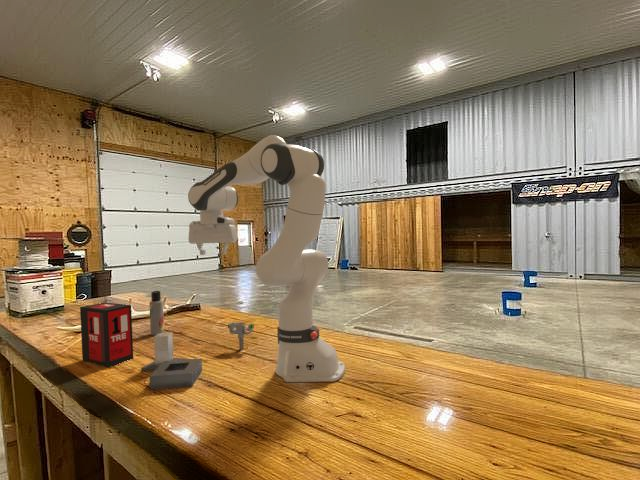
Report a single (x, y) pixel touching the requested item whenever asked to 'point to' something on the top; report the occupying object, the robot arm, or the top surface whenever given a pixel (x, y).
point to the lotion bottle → (156, 313)
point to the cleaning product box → (106, 333)
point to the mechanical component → (240, 331)
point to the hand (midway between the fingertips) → (213, 254)
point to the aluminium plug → (163, 348)
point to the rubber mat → (152, 367)
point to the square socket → (176, 374)
